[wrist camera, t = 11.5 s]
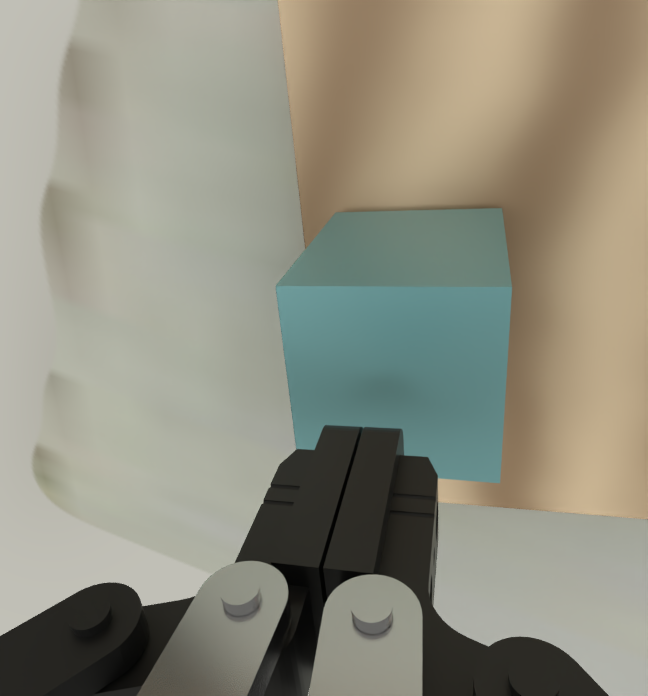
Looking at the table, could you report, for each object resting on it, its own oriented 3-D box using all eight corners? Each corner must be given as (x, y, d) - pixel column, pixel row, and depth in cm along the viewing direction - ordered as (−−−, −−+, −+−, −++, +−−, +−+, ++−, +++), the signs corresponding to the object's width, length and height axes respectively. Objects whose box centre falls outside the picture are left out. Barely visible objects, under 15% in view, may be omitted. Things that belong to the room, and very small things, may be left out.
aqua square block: (502, 208, 18) (512, 286, 12) (494, 358, 20) (500, 483, 15) (335, 212, 19) (275, 286, 14) (346, 353, 22) (298, 467, 16)
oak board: (1017, -454, 12) (1042, -476, 11) (741, 516, 23) (747, 527, 22) (254, -267, 16) (247, -277, 15) (335, 484, 27) (332, 493, 26)
